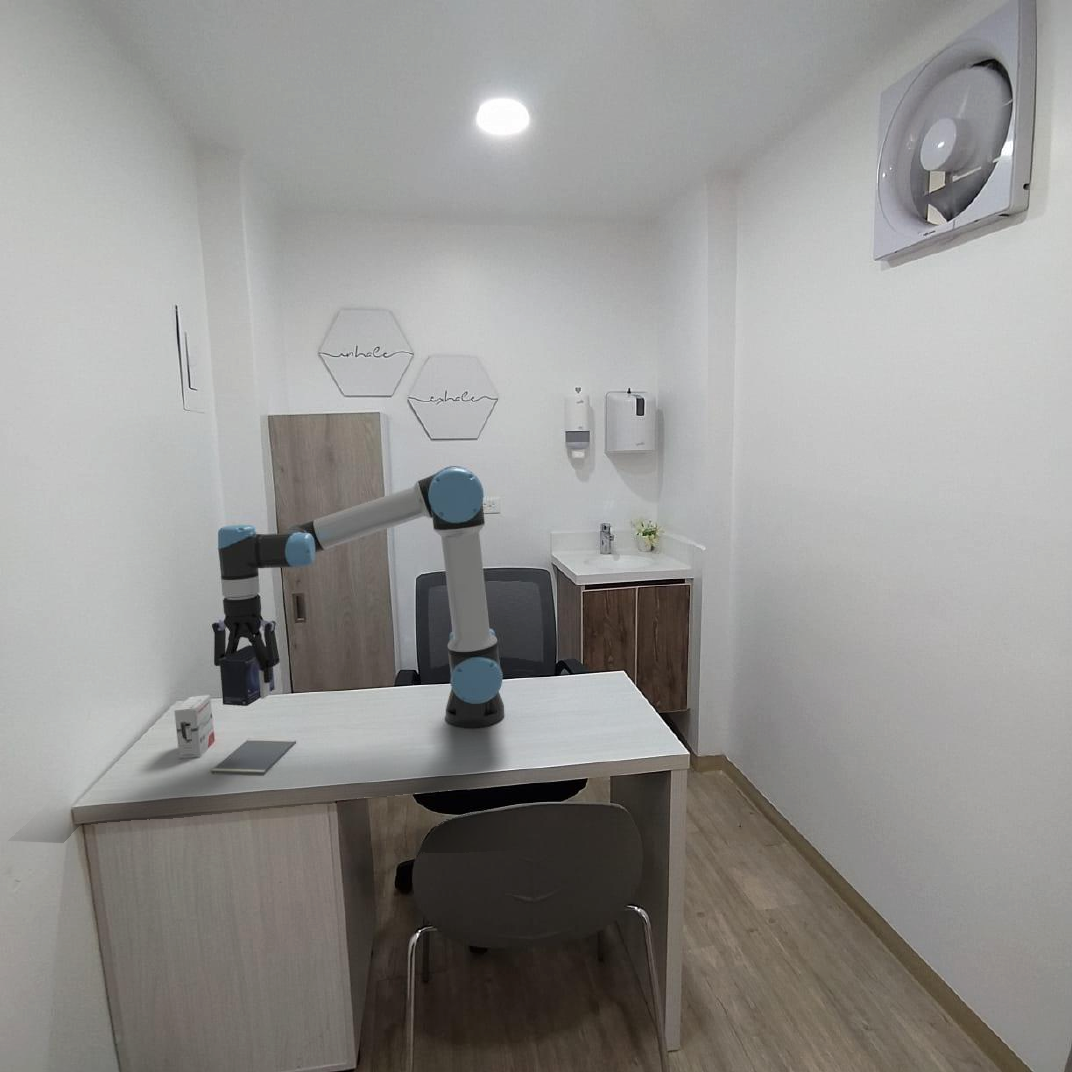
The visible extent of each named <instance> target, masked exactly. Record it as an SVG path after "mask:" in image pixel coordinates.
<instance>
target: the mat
mask: <svg viewBox="0 0 1072 1072" xmlns="http://www.w3.org/2000/svg"><path fill="white" fill-rule="evenodd" d="M296 743H297V740H296V739H267V738H265V739H264V738H263V739H262V738H261V739H260V738H248V739H246V740H245V741H244V742H243V743H241V744H240V745H239V746H238V747H237V748H236V749H235V750H234V751H232V752H231V753H230V754H229V755H228V756H226V757H225V758H224V759H223V760H222V761H220V763H218V764H217V765H216V766H214V767H213V768H212V769H211V770H210V773H211V774H224V775H229V774H231V775H252V776H253V775H255V776H256V775H258V776H260V775H261V776H264V775H266V773H267V772H269V770H271V768H272V767H273V766H275V764H277V762H279V760H280V759H282V757H284V756H285V754H286V753H287V752H289V750H291V748H293V746H294V745H296Z"/></svg>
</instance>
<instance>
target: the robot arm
mask: <svg viewBox="0 0 1072 1072" xmlns="http://www.w3.org/2000/svg"><path fill="white" fill-rule="evenodd" d="M423 517H425V518H428V519H432V526H433V531H434V532H435V533H437V534H438V535H440V537H441V546H442V553H443V560H444V571H445V578H446V580H445V581H446V589H447V597H448V604H449V613H450V614H449V615H450V621H451V632H450V634H449V640H448V643H447V653H448V661H449V669H450V681H449V682H450V686H451V689H450V692H449V696H448V700H447V703H446V706H445V719H446V721H447V722H448V723H449V724H450V725H453V726H455V727H460V728H473V729H474V728H482V727H486V726H487V727H488V726H491V725H493V724H496V723H499V722H500V721H501V720H502V719H503V718H504V717H505V705H504V701H503V699H502V697H501V694H500V690H501V687H502V685H503V678H504V676H503V675H504V674H503V671H502V668H501V662H500V654H499V653H500V652H499V645H498V644H499V643H498V638H497V637H496V633H495V631H494V629H493V628H490V622H489V612H488V604H487V595H486V584H485V575H484V574H485V573H484V566H483V565H484V564H483V556H482V547H481V538H480V532H481V530H482V529H483V527H484V526H485V525H486V523H485V513H484V488H483V485H482V482H481V481H480V479H479V478H478V476H477V475H476V474H474V472H472V471H471V470H469V469H467V468H465V467H463V466H457V465H453V466H452V465H451V466H448V467H445V468H443V469H441V470H439V471H437V472H436V473H434V474H432V475H429V476H427V477H425V478H422V479H420V480H417V481H416V482H415V484H414V486H412V487H408V488H405V489H402V490H400V491H396V492H394V493H391V494H388V495H385V496H382V497H379V498H377V499H374V500H369V501H366V502H363V503H361V504H358V505H355V506H352V507H349V508H346V509H343V510H341V511H337V512H334V513H331V514H328V515H325V516H322V517H320V518H316V519H314V520H312V521H311V520H310V521H307V522H304V523H301V524H296V525H294V526H293V525H292V526H291V527H289V528H288V529H286V530H285V531H283V532H281V533H280V532H279V533H267V534H266V533H257V531H256V527H255V526H254V525H251V524H232V525H228V526H227V525H226V526H222V527H220V528H219V529H218V532H217V542H218V544H217V546H218V547H217V550H218V558H219V559H218V561H219V569H220V581H221V582H220V583H221V592H222V593H221V595H222V596H223V597H224V598H223V599H222V605H223V614H224V615H225V617H224V620H220V619H219V620H217V621H216V622H213V623H212V624H211V628H212V631H213V634H214V638H213V641H214V643H213V644H214V647H213V651H214V652H213V665H214V666H215V667H220V662H219V659H221V658H223V657H225V656H227V655H229V654H232V653H233V652H235V651H238V646H239V643H240V640H241V638H245V639H247V641H248V643H250V645H252V646H253V648H254V651H255V653H256V656H257V658H258V660H259V663H260V665H261V667H262V668H261V669H260V670H258V671H259V683H260V696H261V698H260V699H265V698H267V697H268V696H269V695H270V694H271V692H270V687H269V682H270V681H272V667H273V668H274V667H275V666H277V665H278V664H279V663H280V662H281V659H280V654H279V648H278V643H277V638H276V632H275V631H276V626H277V624H276V621H274V620H272V621H267V620H264V618H263V615H262V602H261V596H260V594H259V593H260V592H261V590H260V579H259V569H273V568H274V569H276V568H277V569H278V568H280V569H281V568H295V569H298V568H303V567H310V566H312V565H313V564H314V562H315V559H316V554H317V553H319V552H322V551H325V550H328V549H331V548H334V547H336V546H340V545H342V544H345V543H348V542H351V541H354V540H357V539H360V538H362V537H363V538H364V537H367V536H369V535H373V534H375V533H377V532H380V531H385V530H386V529H390V528H393V527H396V526H399V525H402V524H405V523H407V522H410V521H413V520H416V519H420V518H423ZM260 628H262V631H263V636H262V632H261V630H260ZM226 629H227V630H228V631H229V635H228V638H227V640H228V641H227V640H226V637H227V636H226V635H227V632H226ZM262 637H264V641H263V638H262ZM226 641H227V642H228V643H226ZM265 646H266V647H265ZM266 649H267V650H266Z"/></svg>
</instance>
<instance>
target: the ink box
mask: <svg viewBox="0 0 1072 1072" xmlns="http://www.w3.org/2000/svg"><path fill="white" fill-rule="evenodd" d="M173 711H174V720H175V728H176V730H175V731H176V739H177V748H178V749H177V750H178V757H179V759H184V758H185V759H187V758H188V759H189V758H190V759H191V758H201V757H202V756H203V754H204V753H206V752H207V750H208V749H209V748H210V747H211V746H212V745H213V743H214V742H215V741H216V740H215V730H214V720H213V719H214V718H213V709H212V701H211V695H209V694H208V695H207V694H204V695H196V696H190V697H188V698H187V699H186V700H185V701H183V702H182V703H181V704H180V705H179V706H178V707H177V708H176V709H175V710H173Z"/></svg>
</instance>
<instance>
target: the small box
mask: <svg viewBox="0 0 1072 1072" xmlns="http://www.w3.org/2000/svg"><path fill="white" fill-rule="evenodd" d="M265 647H266V645H265ZM266 650H267V649H266ZM219 662H220V666H219V669H220V681H221V693H222V694H221V697H222V705H224V706H225V705H226V706H238V707H240V706H241V707H248V706H250V705H251V704H252V703H255V702H256V701H258V700H259V699H262V698H261V696H260V683H259V671H258V670H260V669H261V668H262V667H261V665H260V663H259V660H258V658H257V656H256V653H255V651H254V648H253V646H252V644H248V645H247V646H244V647H241V648H240V649H237V651H235V652H233V653H232V654H229V655H227V656H225V657H223V658H221V659H219ZM269 687H270V693H271V692H272V691H274V690H275V689H276V688H275V677H274V667H272V681H270V682H269Z"/></svg>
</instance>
